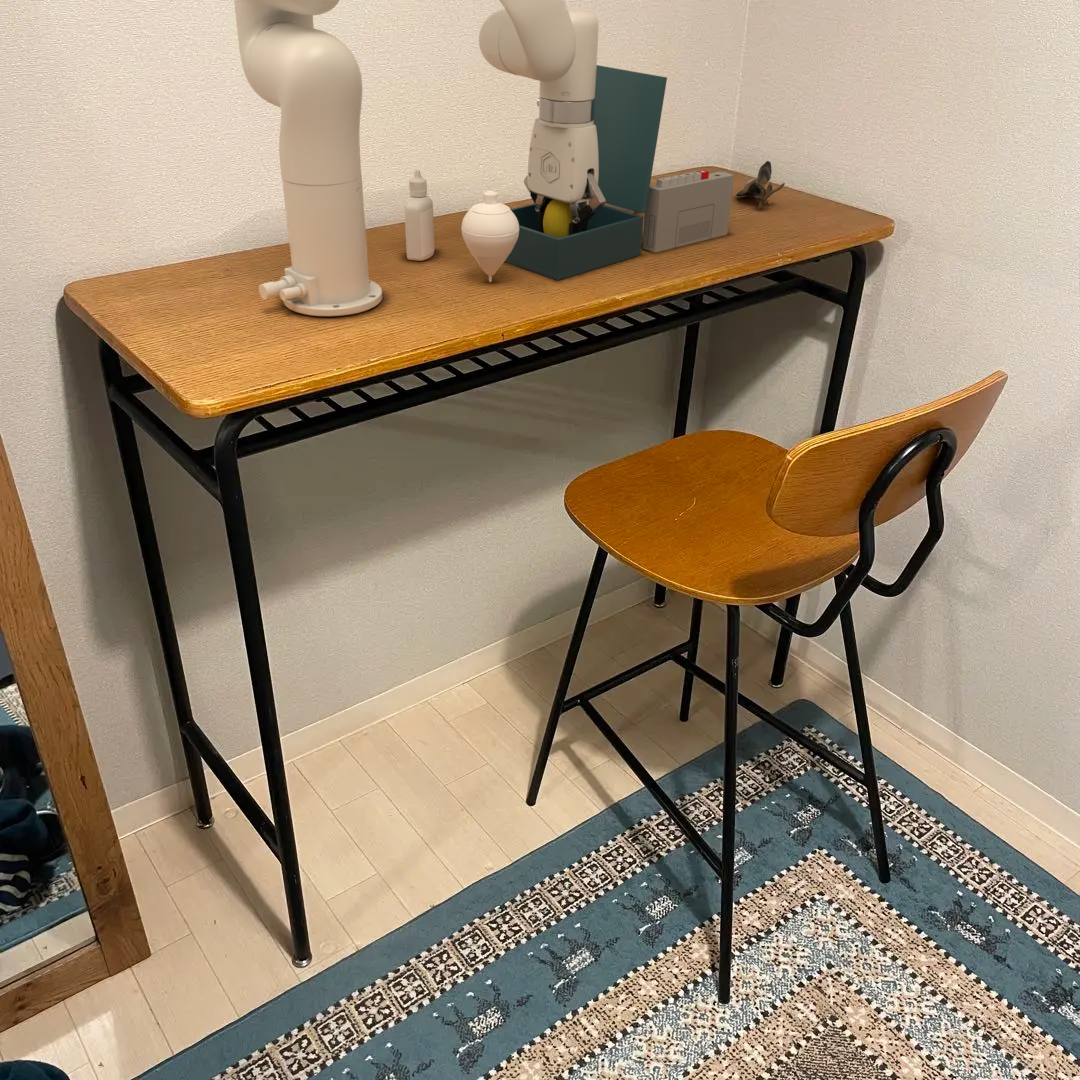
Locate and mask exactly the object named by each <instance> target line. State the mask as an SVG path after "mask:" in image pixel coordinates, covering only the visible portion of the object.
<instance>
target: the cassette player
mask: <svg viewBox="0 0 1080 1080" xmlns="http://www.w3.org/2000/svg"><path fill="white" fill-rule="evenodd" d="M734 179H735V174H731V173H728V172H726V171H716V172H712V173H711V172H710V171H709V170H706V169H701V170H696V171H692V172H687V173H682V174H681V173H680V174H676V175H671V176H666V177H661V178H657V179H656V184H652V185H651V184H650V188H649V194H648V200H647V206H646V213H644V216H643V230H642V244H641V249H644V250H646V251H649V252H651V253H659V252H663V251H667V250H671V249H675V248H679V247H683V246H688V245H691V244H694V243H699V242H703V241H708V240H712V239H715V238H719V237H723V236H727V235H728V231H729V224H730V223H729V222H730V214H731V204H732V197H733V188H734Z"/></svg>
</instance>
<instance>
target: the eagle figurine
mask: <svg viewBox="0 0 1080 1080" xmlns="http://www.w3.org/2000/svg"><path fill="white" fill-rule="evenodd" d="M772 171H773V169H772V163H771V161H769V160H766V161H765V162H764V163H763V164H762V165H761V166H760V167H759V170H758V173H757V177H753V178H752V179H750V180H749V181H747V182H746V183H745V184H744V185H743V188H742V189H741V190H740V191H738V192H737V193H736V194H735V196H736V197H754V198H755V199H756V201H758V202H759V203H758V208H757V209H758V210H759V211H760V210H761V208H762V206H764V204H766V203H767V204H768V205H771V202H770V197H771V196H772V195H773V194H774V193H777V192H778V191H780V190H781V189H783V188H784V186H785V185H786V183H785V182H783V183H781V184H780V185H778V186H777V187H775V188H773V184H772V181H771V180H772V179H771V178H772ZM767 184H768V185H767ZM766 185H767V187H766Z"/></svg>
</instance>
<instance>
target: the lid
mask: <svg viewBox="0 0 1080 1080" xmlns="http://www.w3.org/2000/svg"><path fill="white" fill-rule="evenodd" d="M667 80H668V77H666V76H661V75H656V74H650V73H645V72H639V71H632V70H628V69H622V68H617V67H611V66H604V65H600V64H597V67H596V85H595V107H594V125H596V130H597V139H598V154H599V176H598V186H599V188H600V190H601V192H602V194H603V196H604V198H605V200H606V202H605V203H608V204H611V205H615V206H618V207H622V208H625V209H629V210H632V211H635V212H636V213H639V214H645V213H646V206H647V200H648V194H649V188H650V186H651V181H652V175H653V169H654V161H655V156H656V151H657V142H658V137H659V131H660V127H661V126H660V124H661V119H662V112H663V106H664V100H665V94H666V88H667Z"/></svg>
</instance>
